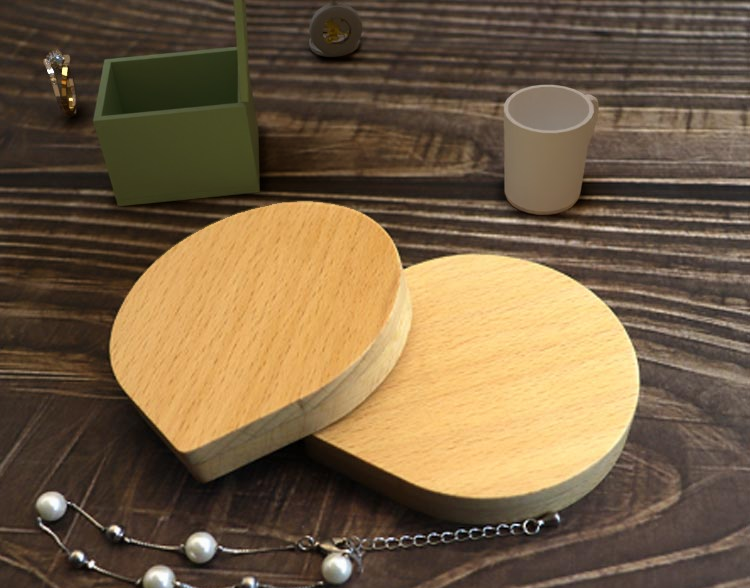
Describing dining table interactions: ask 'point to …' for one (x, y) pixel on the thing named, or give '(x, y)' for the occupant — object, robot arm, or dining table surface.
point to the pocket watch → (335, 30)
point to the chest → (177, 127)
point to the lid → (242, 47)
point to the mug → (546, 147)
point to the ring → (67, 82)
